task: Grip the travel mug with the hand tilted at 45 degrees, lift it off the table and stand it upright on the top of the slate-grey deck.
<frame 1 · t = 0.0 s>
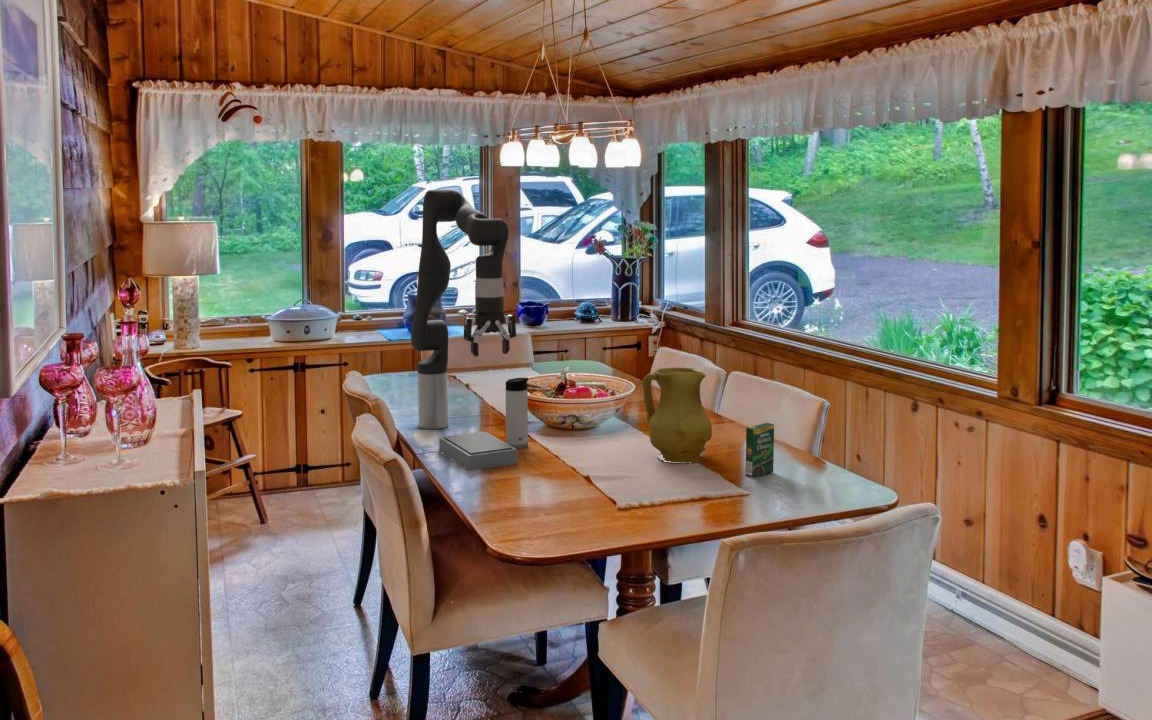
hand: (490, 354, 264), 29 cm above the table, tool pointing down, fingers open, 8 cm apart
travel mug: (517, 446, 285), on the table
coffee box: (759, 475, 256), on the table
deck: (477, 457, 273), on the table
pitcher: (678, 457, 273), on the table
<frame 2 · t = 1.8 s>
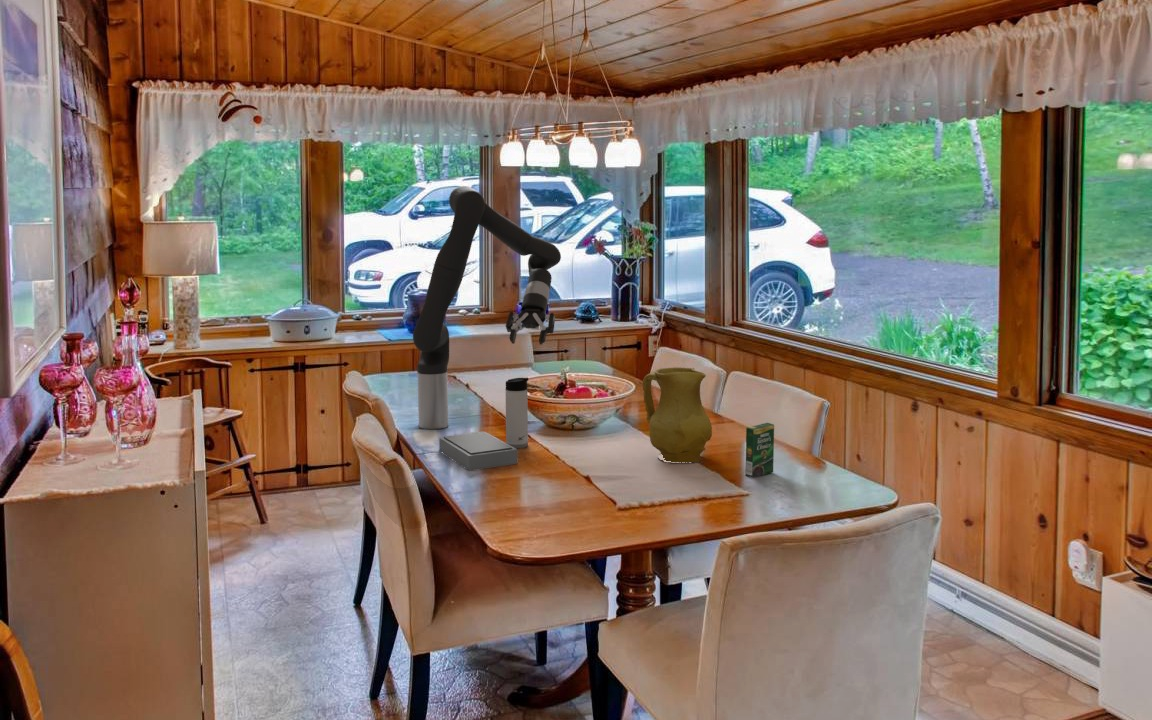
hand: (526, 342, 291), 28 cm above the table, tool tilted 45°, fingers open, 8 cm apart
nothing on the table moved.
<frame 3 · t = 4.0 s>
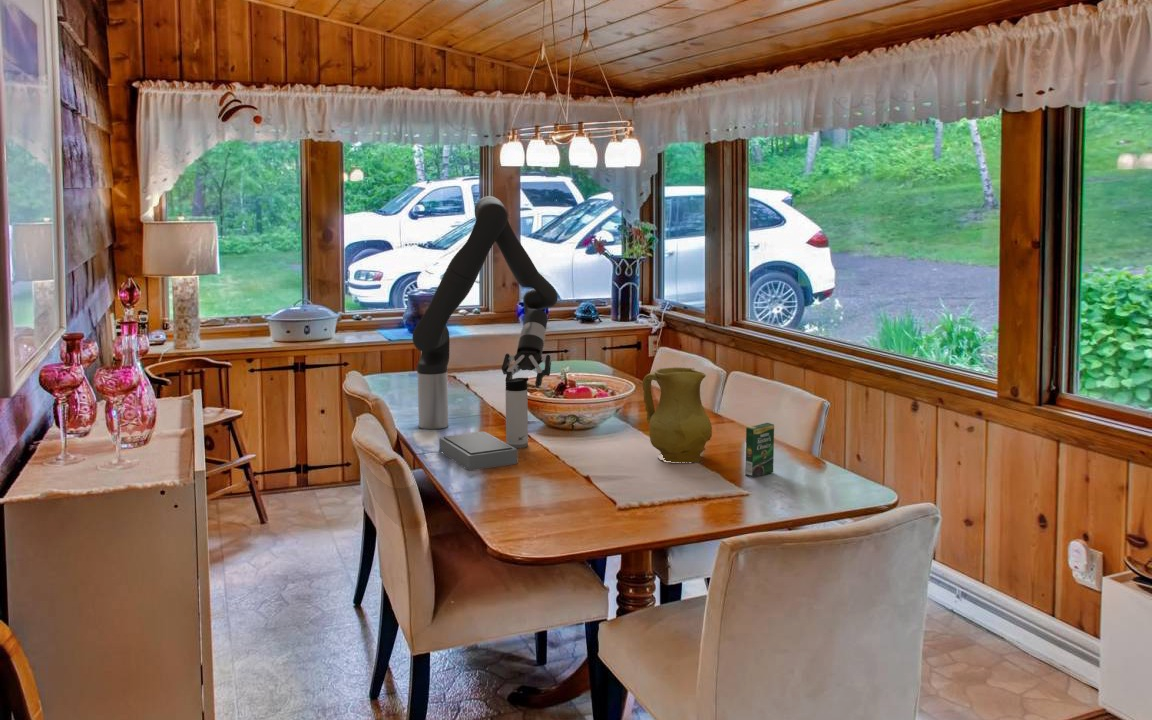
hand: (522, 385, 288), 16 cm above the table, tool tilted 45°, fingers open, 8 cm apart
nothing on the table moved.
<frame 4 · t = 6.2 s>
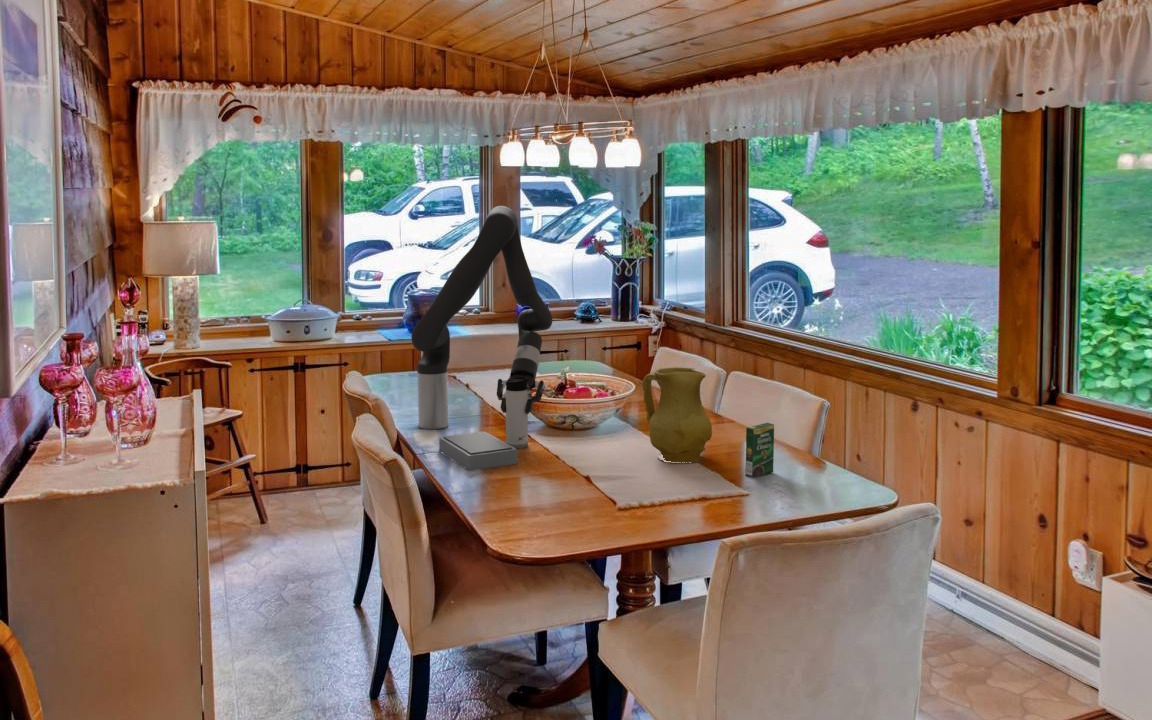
hand: (515, 411, 281), 10 cm above the table, tool tilted 45°, fingers closed on travel mug, 6 cm apart
travel mug: (517, 446, 285), on the table, touching gripper
everything else where it was.
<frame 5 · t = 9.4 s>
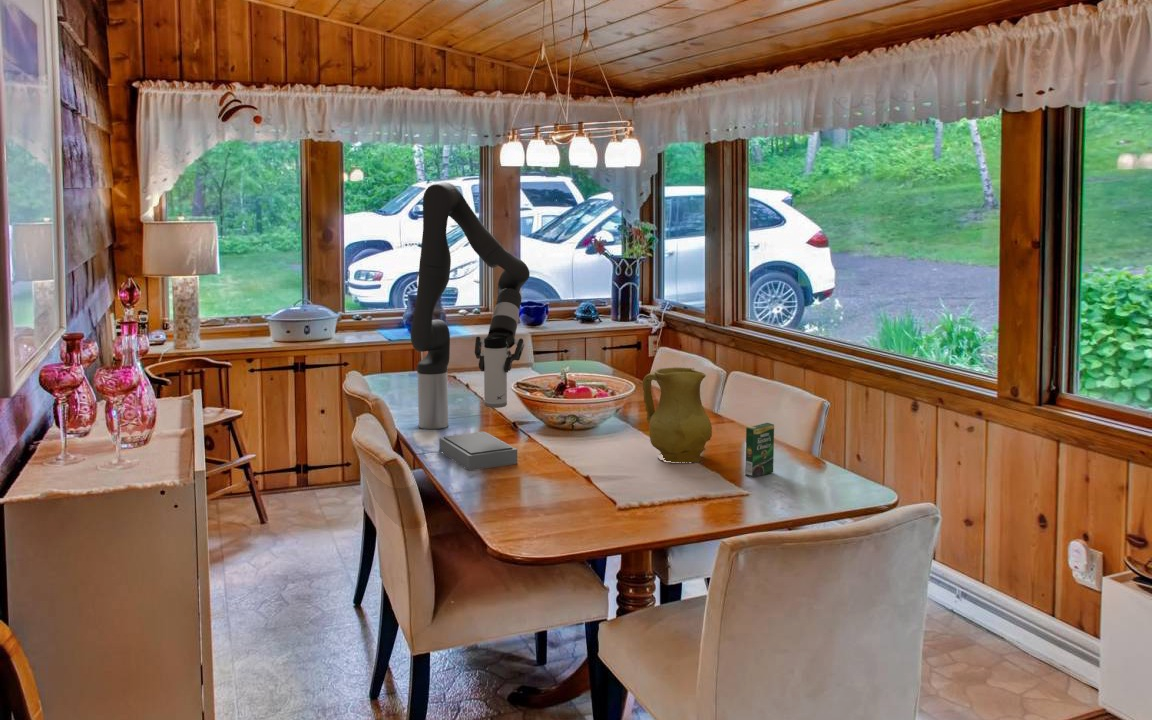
hand: (493, 370, 273), 24 cm above the table, tool tilted 45°, fingers closed on travel mug, 6 cm apart
travel mug: (496, 406, 276), point 13 cm above the table, touching gripper
everything else where it was.
when the fingers open (16 cm above the table, at t = 12.4 s): travel mug drops 1 cm, resting on deck.
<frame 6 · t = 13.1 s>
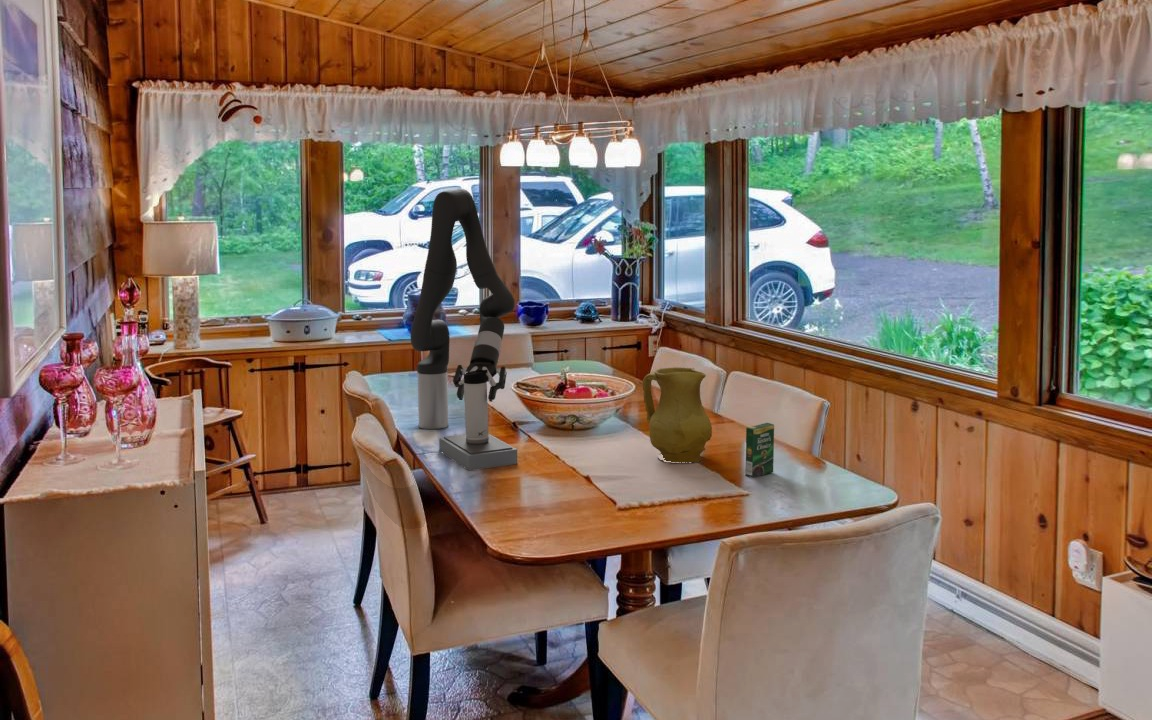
hand: (475, 399, 268), 17 cm above the table, tool tilted 45°, fingers open, 8 cm apart
travel mug: (478, 442, 272), point 4 cm above the table, touching deck
everything else where it was.
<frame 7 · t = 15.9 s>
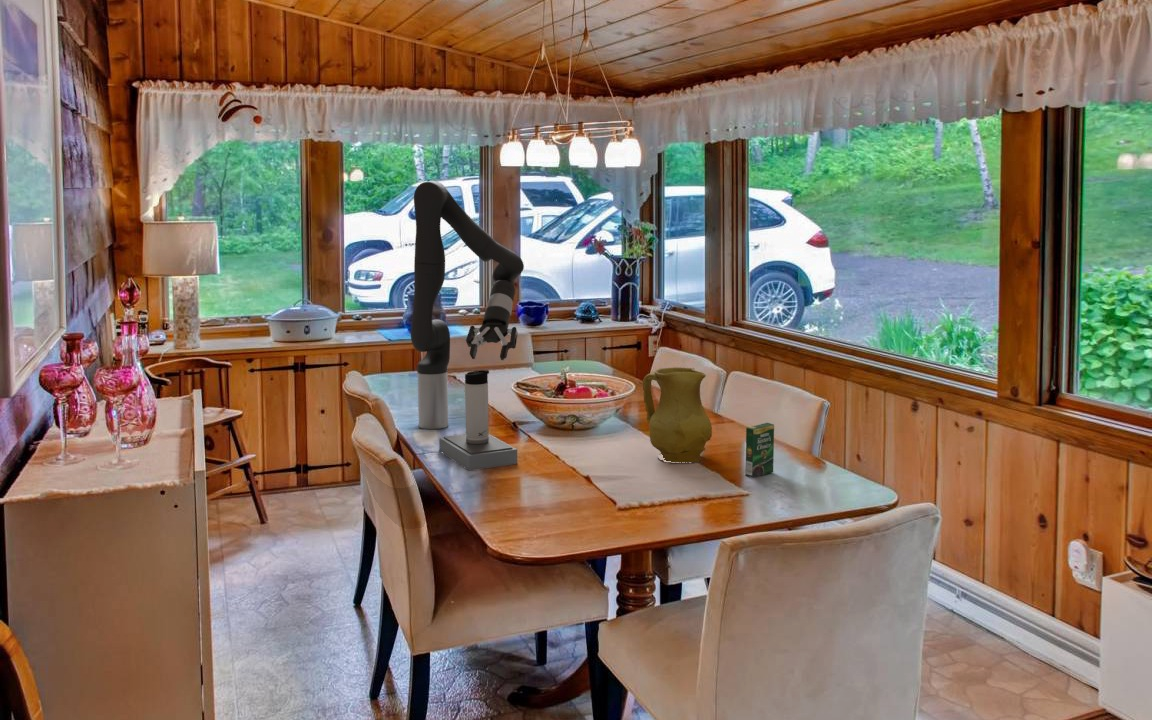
hand: (487, 358, 279), 26 cm above the table, tool tilted 45°, fingers open, 8 cm apart
nothing on the table moved.
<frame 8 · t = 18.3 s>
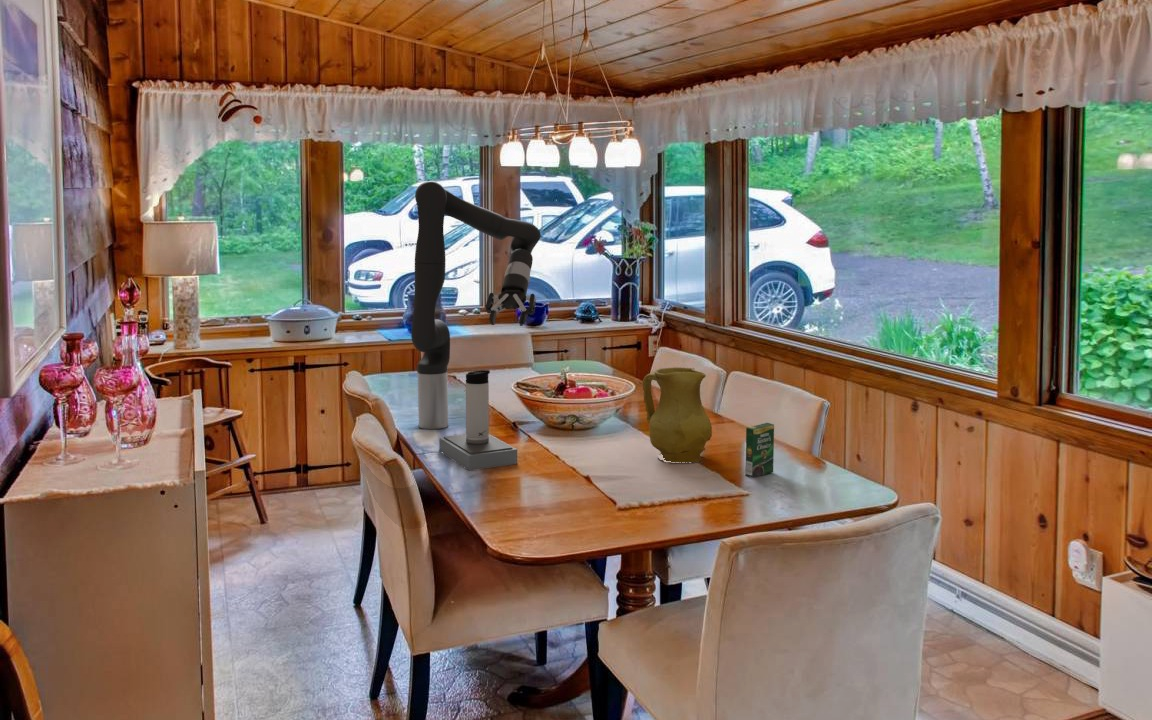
hand: (506, 323, 285), 35 cm above the table, tool tilted 45°, fingers open, 8 cm apart
nothing on the table moved.
at the end: travel mug inside the target area on the deck (0.3 cm from its centre), point 4.2 cm above the deck's base; travel mug tilted 0°; the gripper is holding nothing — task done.
